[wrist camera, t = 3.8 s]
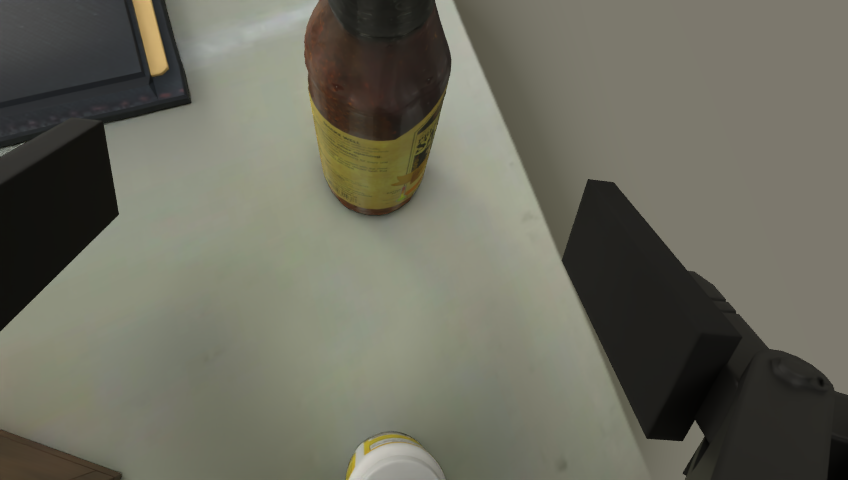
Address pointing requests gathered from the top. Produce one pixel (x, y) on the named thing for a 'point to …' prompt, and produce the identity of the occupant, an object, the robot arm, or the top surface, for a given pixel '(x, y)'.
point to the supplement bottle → (392, 459)
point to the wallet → (84, 63)
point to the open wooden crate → (44, 462)
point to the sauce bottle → (375, 96)
